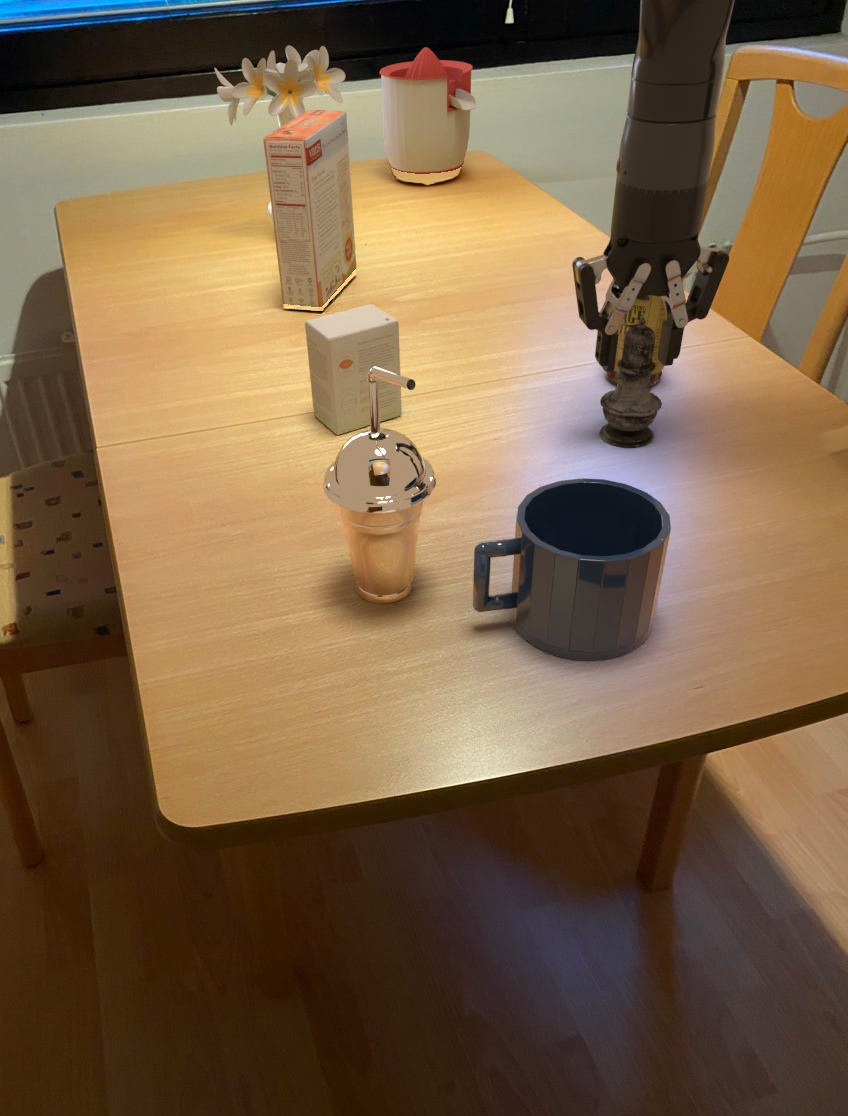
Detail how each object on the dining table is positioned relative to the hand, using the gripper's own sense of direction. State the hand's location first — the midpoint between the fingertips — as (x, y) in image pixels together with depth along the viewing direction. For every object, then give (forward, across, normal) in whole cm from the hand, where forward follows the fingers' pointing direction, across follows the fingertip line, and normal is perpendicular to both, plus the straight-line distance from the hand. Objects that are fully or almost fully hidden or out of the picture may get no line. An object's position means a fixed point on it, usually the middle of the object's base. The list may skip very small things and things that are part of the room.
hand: (636, 364), depth 92 cm
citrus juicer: (+8, -2, +98) cm, 98 cm away
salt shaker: (+8, 0, 0) cm, 8 cm away
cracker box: (+8, -26, +47) cm, 54 cm away
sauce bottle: (+8, +5, +12) cm, 15 cm away
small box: (+8, -26, +10) cm, 29 cm away
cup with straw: (+8, -28, -21) cm, 35 cm away
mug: (+7, -15, -27) cm, 32 cm away
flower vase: (+8, -28, +72) cm, 78 cm away
